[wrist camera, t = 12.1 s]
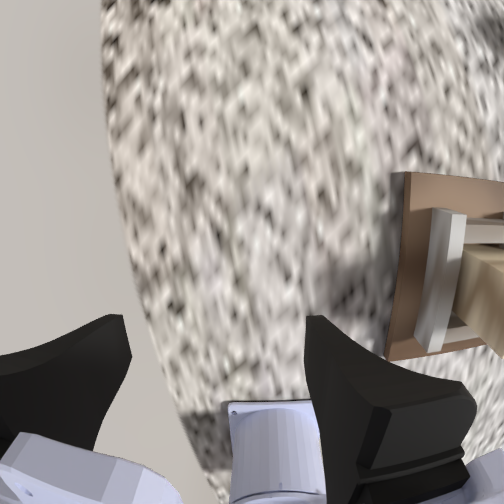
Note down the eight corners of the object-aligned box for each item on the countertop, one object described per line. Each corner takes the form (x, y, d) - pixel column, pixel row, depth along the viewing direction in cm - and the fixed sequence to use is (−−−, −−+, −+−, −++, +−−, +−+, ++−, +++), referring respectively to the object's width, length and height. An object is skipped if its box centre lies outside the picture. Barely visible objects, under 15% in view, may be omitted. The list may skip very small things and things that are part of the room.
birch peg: (482, 297, 20) (543, 346, 12) (441, 301, 20) (501, 359, 12) (493, 244, 19) (563, 280, 11) (451, 244, 19) (525, 285, 11)
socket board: (491, 336, 22) (511, 355, 19) (383, 354, 23) (398, 381, 19) (519, 184, 18) (547, 191, 15) (404, 171, 19) (430, 174, 15)
